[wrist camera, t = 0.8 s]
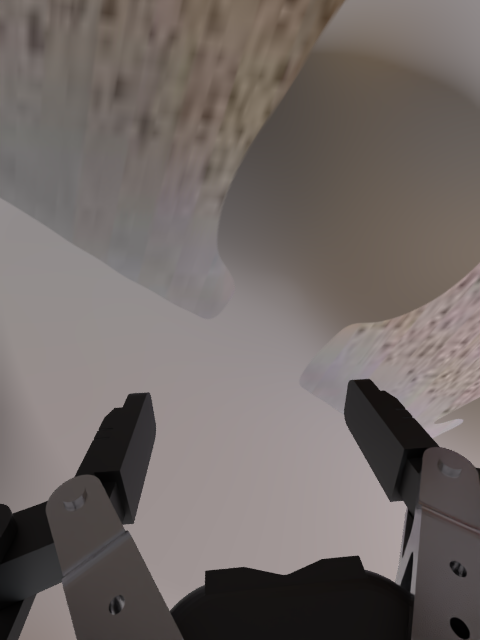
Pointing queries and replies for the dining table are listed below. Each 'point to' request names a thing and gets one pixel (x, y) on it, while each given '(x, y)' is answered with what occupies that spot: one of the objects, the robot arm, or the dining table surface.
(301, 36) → the dining table surface
